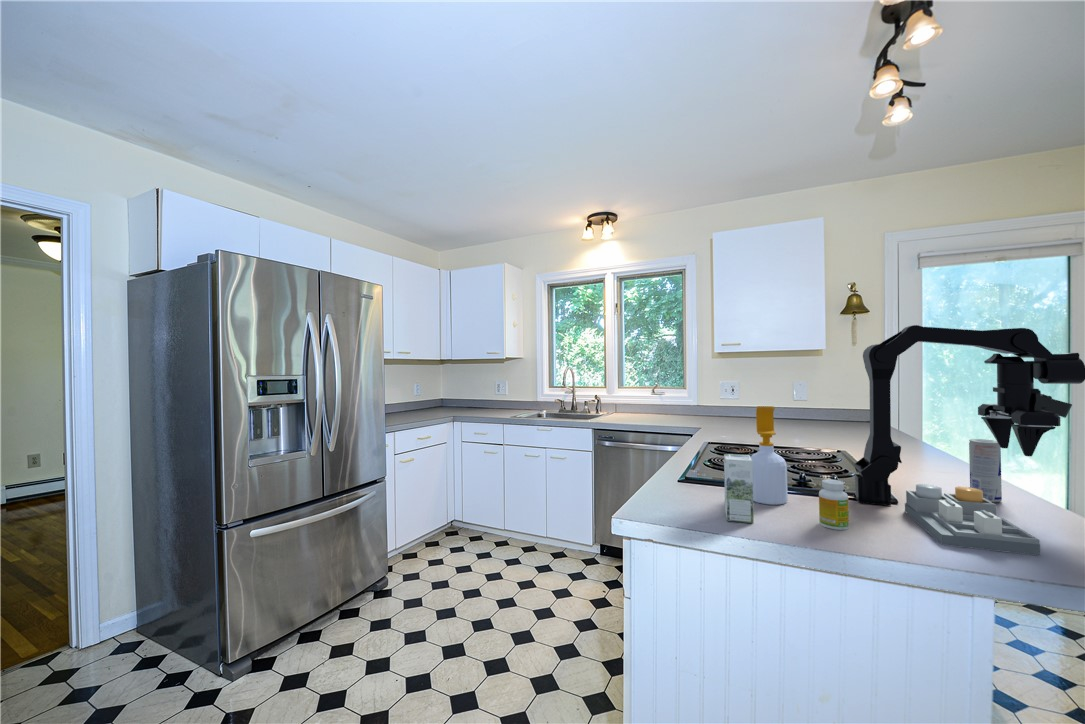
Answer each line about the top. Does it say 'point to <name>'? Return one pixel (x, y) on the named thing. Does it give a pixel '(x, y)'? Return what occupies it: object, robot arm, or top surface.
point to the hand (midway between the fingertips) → (1015, 452)
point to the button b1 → (928, 491)
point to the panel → (968, 526)
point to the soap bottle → (768, 463)
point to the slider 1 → (950, 511)
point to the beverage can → (986, 468)
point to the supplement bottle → (833, 505)
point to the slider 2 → (987, 523)
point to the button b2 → (968, 494)
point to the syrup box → (738, 488)
